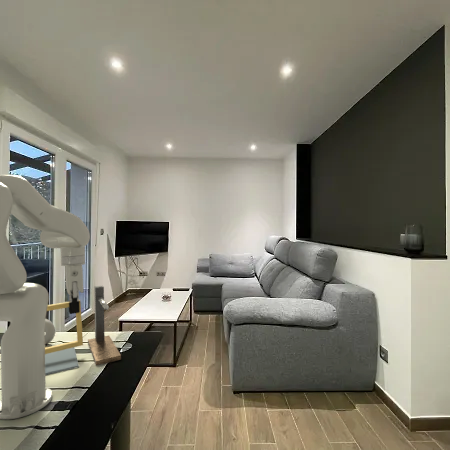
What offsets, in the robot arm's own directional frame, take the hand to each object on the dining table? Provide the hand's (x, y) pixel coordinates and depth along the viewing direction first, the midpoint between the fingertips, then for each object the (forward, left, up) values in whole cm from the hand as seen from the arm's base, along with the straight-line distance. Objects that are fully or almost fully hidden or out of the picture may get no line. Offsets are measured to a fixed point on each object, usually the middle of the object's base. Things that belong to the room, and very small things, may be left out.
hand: (74, 311), depth 105 cm
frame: (0, +4, -12) cm, 13 cm away
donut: (+20, +10, -16) cm, 27 cm away
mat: (0, +6, -16) cm, 17 cm away
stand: (0, -9, -16) cm, 19 cm away
